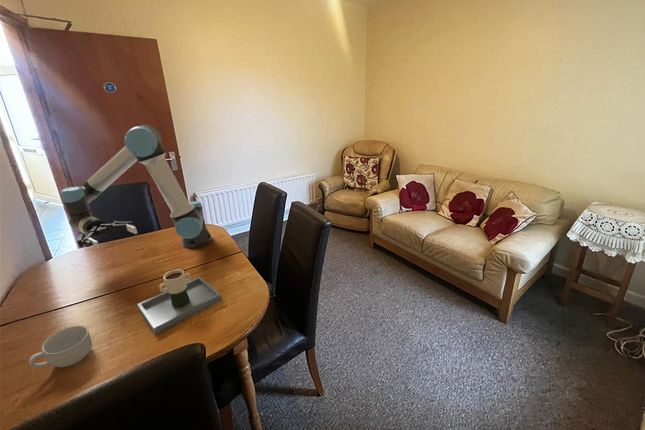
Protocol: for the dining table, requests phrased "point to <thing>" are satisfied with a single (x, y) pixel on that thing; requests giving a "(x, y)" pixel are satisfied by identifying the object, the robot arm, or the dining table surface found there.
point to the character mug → (176, 287)
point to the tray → (167, 316)
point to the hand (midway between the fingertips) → (117, 237)
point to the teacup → (64, 347)
